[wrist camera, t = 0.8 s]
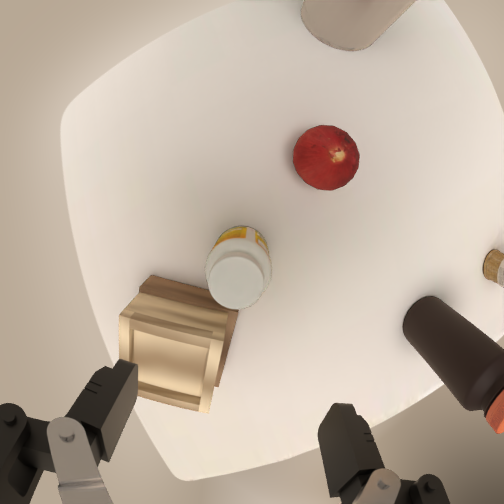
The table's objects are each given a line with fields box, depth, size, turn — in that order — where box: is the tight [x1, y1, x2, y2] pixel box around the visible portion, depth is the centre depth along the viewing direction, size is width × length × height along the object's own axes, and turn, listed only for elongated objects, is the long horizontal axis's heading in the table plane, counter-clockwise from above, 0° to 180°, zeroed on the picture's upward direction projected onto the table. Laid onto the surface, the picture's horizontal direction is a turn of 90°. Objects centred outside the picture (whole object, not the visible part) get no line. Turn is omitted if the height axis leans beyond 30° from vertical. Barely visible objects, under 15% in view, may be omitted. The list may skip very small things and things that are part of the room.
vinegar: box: [403, 296, 504, 434], centre depth 22 cm, size 7×7×20 cm
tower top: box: [119, 292, 228, 414], centre depth 25 cm, size 9×9×5 cm
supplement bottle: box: [205, 226, 272, 309], centre depth 25 cm, size 5×5×10 cm
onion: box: [293, 125, 360, 190], centre depth 23 cm, size 6×6×8 cm
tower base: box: [139, 275, 239, 387], centre depth 30 cm, size 10×10×4 cm
